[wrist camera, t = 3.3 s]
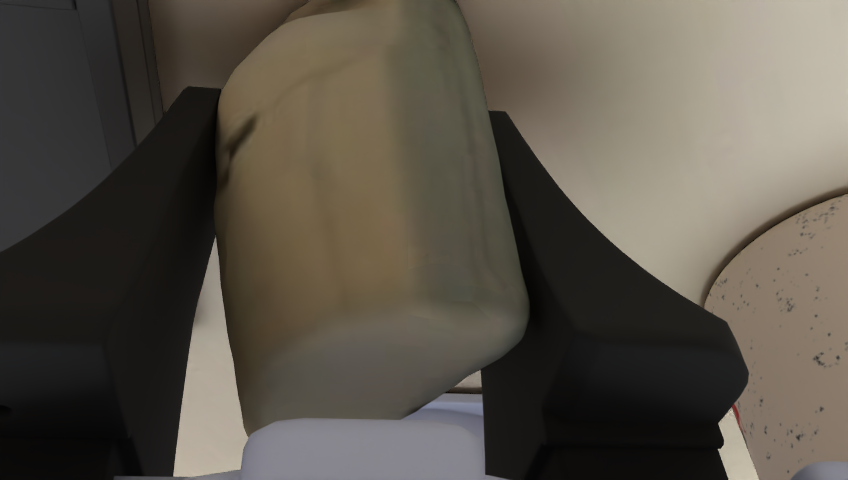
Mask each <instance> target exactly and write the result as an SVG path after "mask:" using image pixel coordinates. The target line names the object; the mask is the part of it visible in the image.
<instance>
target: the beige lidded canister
mask: <svg viewBox="0 0 848 480" xmlns="http://www.w3.org/2000/svg"><path fill="white" fill-rule="evenodd" d="M704 309H705V310H707V311H709V312H711V313H712V314H714V315H716V316H718V317H719V318H721V319H723V320H725V321H726V322H727V323H728V325H729V327H730V329H731V331H732V333H733V335H734V337H735V339H736V341H737V343H738V345H739V348H740V350H741V353H742V356H743V358H744V361H745V363H746V366H747V368H748V371H749V379H748V384H747V386H746V387H745V389H744V391H743V393H742V394H741V396H740V397H739V398H738V400H737V401H736V402H735V403H734V405H733V406H732V409H733V412H734V415H735V417H736V420H737V422H738V425H739V428H740V430H741V433H742V435H743V438H744V441H745V443H746V446H747V449H748V451H749V454H750V456H751V459H752V462H753V464H754V467H755V469H756V472H757V475H758V477H759V480H790V479H791V478H792V477H793V475H794V474H795V473H796V472H797V471H798V470H799V469H801V468H803V467H804V466H806V465H809V464H812V463H815V462H824V461H835V462H848V194H846V195H843V196H840V197H837V198H833V199H830V200H828V201H825V202H823V203H820V204H818V205H815V206H813V207H811V208H808V209H806V210H804V211H802V212H800V213H798V214H796V215H794V216H792V217H790V218H788V219H786V220H784V221H783V222H781V223H779V224H778V225H776V226H774V227H773V228H771V229H770V230H768V231H767V232H765V233H764V234H762V235H761V236H759V237H758V238H757V239H755V240H754V241H753V242H752V243H750V244H749V245H748V246H746V247H745V248H744V249H743V250H742V251H741V252H740V253H739V254H738V255H736V256H735V257H734V259H733V260H732V261H731V262H730V263H729V264H728V265H727V266H726V267H725V269H724V270H723V271H722V272H721V274H720V275H719V276H718V278H717V280H716V281H715V283H714V284H713V286H712V288H711V290H710V292H709V294H708V296H707V299H706V302H705V305H704Z"/></svg>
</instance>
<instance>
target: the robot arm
mask: <svg viewBox="0 0 848 480" xmlns="http://www.w3.org/2000/svg"><path fill="white" fill-rule="evenodd" d="M220 94H221V89H217V88H205V87H192V86H188V87H187V88H185V89H184V90H183V91H182V92H181V94H180V95H179V96H178V98H177V99H176V100H175V102H174V103H173V104H172V106H171V107H170V108H169V110H168V111H167V112H166V113H165V115H164V116H163V117H162V118H161V120H160V121H159V122H158V123H157V124H156V126H155V127H154V128H153V129H152V130H151V131H150V133H149V134H148V135H147V136H146V137H145V138H144V139H143V140H142V142H141V143H140V144H139V145H138V146H137V147H136V148H135V149H134V150H133V151H132V153H131V154H130V155H129V156H128V157H127V158H126V159H125V160H124V161H123V162H122V163H121V164H120V165H118V166H117V167H116V168H115V169H114V170H113V171H112V172H111V173H110V174H109V175H108V176H107V177H106V178H105V179H104V180H103V181H102V182H101V183H100V184H98V185H97V186H96V187H95V188H94V189H93V190H92V191H90V192H89V193H88V194H87V195H86V196H84V197H83V198H82V199H81V200H79V201H78V202H77V203H76V204H74V205H73V206H72V207H71V208H69V209H68V210H66V211H65V212H64V213H62V214H61V215H59V216H58V217H57V218H55V219H54V220H52V221H51V222H49V223H48V224H46V225H45V226H43V227H42V228H40V229H39V230H37V231H36V232H34V233H33V234H31V235H29V236H28V237H26V238H24V239H23V240H21V241H19V242H18V243H16V244H14V245H12V246H11V247H9V248H7V249H5V250H3V251H1V252H0V480H728V477H727V474H726V471H725V468H724V466H723V463H722V460H721V457H720V454H719V451H718V449H721V447H722V446H723V445H724V439H723V436H722V433H721V431H720V428H719V425H718V423H719V422H720V420H721V419H722V418H723V417H724V416H725V414H726V413H727V412H728V411H729V409H730V408H731V407H732V406H733V405H734V403H735V402H736V401H737V400H738V398H739V397H740V396H741V394H742V393H743V391H744V389H745V387H746V386H747V384H748V379H749V371H748V368H747V366H746V363H745V361H744V358H743V356H742V353H741V350H740V348H739V345H738V343H737V341H736V339H735V337H734V335H733V333H732V331H731V329H730V327H729V325H728V323H727V322H726V321H725V320H723V319H721V318H719V317H718V316H716V315H714V314H712V313H711V312H709V311H707V310H705V309H704V308H702V307H700V306H699V305H697V304H695V303H693V302H692V301H690V300H688V299H686V298H685V297H683V296H682V295H680V294H679V293H677V292H676V291H674V290H673V289H671V288H670V287H668V286H667V285H665V284H664V283H662V282H661V281H659V280H658V279H657V278H655V277H654V276H653V275H651V274H650V273H648V272H647V271H646V270H644V269H643V268H642V267H640V266H639V265H638V264H637V263H636V262H634V261H633V260H632V259H631V258H629V257H628V256H627V255H626V254H624V253H623V252H622V251H621V250H620V249H618V248H617V247H616V246H615V245H614V244H613V243H612V242H610V241H609V240H608V239H607V238H606V237H605V236H604V235H603V234H602V233H601V232H600V231H599V230H598V229H597V228H596V227H595V226H594V225H593V224H592V223H591V222H590V221H589V220H588V219H587V218H586V217H585V216H584V215H583V214H582V213H581V212H580V211H579V210H578V209H577V208H576V206H575V205H574V204H573V203H572V202H571V201H570V199H569V198H568V197H567V196H566V195H565V194H564V193H563V191H562V190H561V189H560V188H559V186H558V185H557V184H556V182H555V181H554V180H553V179H552V177H551V176H550V175H549V173H548V172H547V171H546V169H545V168H544V167H543V165H542V164H541V163H540V161H539V160H538V158H537V157H536V156H535V154H534V153H533V151H532V150H531V148H530V147H529V145H528V144H527V143H526V141H525V140H524V138H523V137H522V135H521V134H520V132H519V131H518V129H517V128H516V126H515V125H514V123H513V122H512V120H511V119H510V117H509V116H508V115H507V113H506V112H505V111H492V110H488V112H489V117H490V122H491V127H492V131H493V136H494V140H495V144H496V148H497V152H498V157H499V162H500V168H501V175H502V181H503V187H504V194H505V199H506V203H507V207H508V210H509V215H510V220H511V225H512V229H513V233H514V237H515V242H516V246H517V251H518V256H519V260H520V265H521V270H522V274H523V278H524V281H525V285H526V288H527V292H528V296H529V300H530V319H529V322H528V325H527V328H526V331H525V334H524V336H523V337H522V339H521V341H520V342H519V343H518V344H517V345H516V346H515V347H513V348H512V349H511V350H510V351H509V352H507V353H506V354H505V355H504V356H502V357H501V358H500V359H498V360H496V361H494V362H492V363H491V364H489V365H487V366H485V367H484V368H482V369H481V382H482V394H451V393H444V394H442V395H441V396H439V397H438V398H437V399H435V400H433V401H432V402H430V403H428V404H427V405H425V406H423V407H422V408H421V409H419V410H418V411H417V412H415V413H413V414H411V415H409V416H407V417H405V418H403V419H401V420H375V419H329V418H299V419H290V420H282V421H276V422H273V423H271V424H269V425H267V426H265V427H263V428H261V429H259V430H257V431H255V432H254V433H252V434H251V435H250V437H249V439H248V441H247V443H246V445H245V447H244V449H243V457H242V465H241V470H235V471H228V472H222V473H215V474H209V475H203V476H196V477H173V472H174V463H175V454H176V446H177V438H178V429H179V421H180V413H181V405H182V398H183V390H184V383H185V376H186V368H187V361H188V354H189V348H190V341H191V334H192V327H193V322H194V317H195V312H196V307H197V303H198V299H199V296H200V292H201V288H202V284H203V280H204V277H205V273H206V269H207V265H208V262H209V258H210V254H211V250H212V247H213V243H214V239H215V235H216V232H215V223H214V202H215V196H216V189H217V171H216V159H215V131H216V119H217V110H218V103H219V98H220ZM790 480H848V462H835V461H824V462H815V463H812V464H809V465H806V466H804V467H803V468H801V469H799V470H798V471H797V472H796V473H795V474H794V475H793V477H792V478H791V479H790Z"/></svg>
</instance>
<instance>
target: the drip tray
mask: <svg viewBox="0 0 848 480" xmlns="http://www.w3.org/2000/svg"><path fill="white" fill-rule="evenodd" d="M162 117H163V110H162V102H161V95H160V88H159V80H158V73H157V66H156V59H155V51H154V44H153V37H152V30H151V22H150V15H149V8H148V0H0V252H1V251H3V250H5V249H7V248H9V247H11V246H12V245H14V244H16V243H18V242H19V241H21V240H23V239H24V238H26V237H28V236H29V235H31V234H33V233H34V232H36V231H37V230H39V229H40V228H42V227H43V226H45V225H46V224H48V223H49V222H51V221H52V220H54V219H55V218H57V217H58V216H59V215H61V214H62V213H64V212H65V211H66V210H68V209H69V208H71V207H72V206H73V205H74V204H76V203H77V202H78V201H79V200H81V199H82V198H83V197H84V196H86V195H87V194H88V193H89V192H90V191H92V190H93V189H94V188H95V187H96V186H97V185H98V184H100V183H101V182H102V181H103V180H104V179H105V178H106V177H107V176H108V175H109V174H110V173H111V172H112V171H113V170H114V169H115V168H116V167H117V166H118V165H120V164H121V163H122V162H123V161H124V160H125V159H126V158H127V157H128V156H129V155H130V154H131V153H132V151H133V150H134V149H135V148H136V147H137V146H138V145H139V144H140V143H141V142H142V140H143V139H144V138H145V137H146V136H147V135H148V134H149V133H150V131H151V130H152V129H153V128H154V127H155V126H156V124H157V123H158V122H159V121H160V120H161V118H162Z"/></svg>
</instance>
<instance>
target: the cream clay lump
mask: <svg viewBox="0 0 848 480" xmlns="http://www.w3.org/2000/svg"><path fill="white" fill-rule="evenodd" d="M215 159H216V171H217V189H216V196H215V202H214V223H215V232H216V241H217V248H218V256H219V265H220V281H221V289H222V296H223V303H224V310H225V318H226V325H227V333H228V338H229V343H230V348H231V352H232V357H233V361H234V368H235V376H236V384H237V390H238V396H239V401H240V406H241V411H242V418H243V424H244V429H245V431H246V433H247V436H248V437H250V435H251V434H252V433H254V432H255V431H257V430H259V429H261V428H263V427H265V426H267V425H269V424H271V423H273V422H276V421H282V420H290V419H299V418H329V419H375V420H401V419H403V418H405V417H407V416H409V415H411V414H413V413H415V412H417V411H418V410H419V409H421V408H422V407H423V406H425V405H427V404H428V403H430V402H432V401H433V400H435V399H437V398H438V397H439V396H441V395H442V394H444V393H445V392H446V391H448V390H449V389H451V388H452V387H454V386H455V385H457V384H458V383H459V382H460V381H462V380H463V379H464V378H466V377H467V376H469V375H471V374H473V373H475V372H477V371H479V370H480V369H482V368H484V367H485V366H487V365H489V364H491V363H492V362H494V361H496V360H498V359H500V358H501V357H502V356H504V355H505V354H506V353H507V352H509V351H510V350H511V349H512V348H513V347H515V346H516V345H517V344H518V343H519V342H520V341H521V339H522V337H523V336H524V334H525V331H526V328H527V325H528V322H529V319H530V300H529V296H528V292H527V288H526V285H525V281H524V278H523V274H522V270H521V265H520V260H519V256H518V251H517V246H516V242H515V237H514V233H513V229H512V225H511V220H510V215H509V210H508V207H507V203H506V199H505V194H504V187H503V181H502V175H501V168H500V162H499V157H498V152H497V148H496V144H495V140H494V136H493V131H492V127H491V122H490V117H489V112H488V107H487V103H486V98H485V93H484V88H483V83H482V78H481V74H480V69H479V64H478V60H477V57H476V53H475V50H474V47H473V43H472V41H471V36H470V32H469V29H468V26H467V24H466V22H465V20H464V17H463V15H462V13H461V11H460V9H459V7H458V5H457V3H456V1H455V0H311V1H310V2H308V3H307V4H305V5H304V6H302V7H300V8H299V9H297V10H295V11H294V12H292V13H290V14H289V17H288V18H287V19H286V20H285V21H284V23H283V24H282V25H281V26H280V27H279V28H278V29H276V30H275V31H273V32H272V33H271V34H269V35H268V36H267V37H266V38H265V39H264V40H263V41H262V42H261V43H260V44H259V45H258V46H257V47H256V48H255V49H254V50H253V51H252V52H251V53H250V54H249V55H248V56H247V57H246V58H245V59H244V60H243V61H242V62H241V63H240V64H239V65H238V66H237V67H236V68H235V69H234V71H233V72H232V74H231V76H230V78H229V80H228V81H227V83H226V85H225V86H224V88H223V90H222V91H221V94H220V98H219V103H218V110H217V119H216V131H215Z"/></svg>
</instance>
